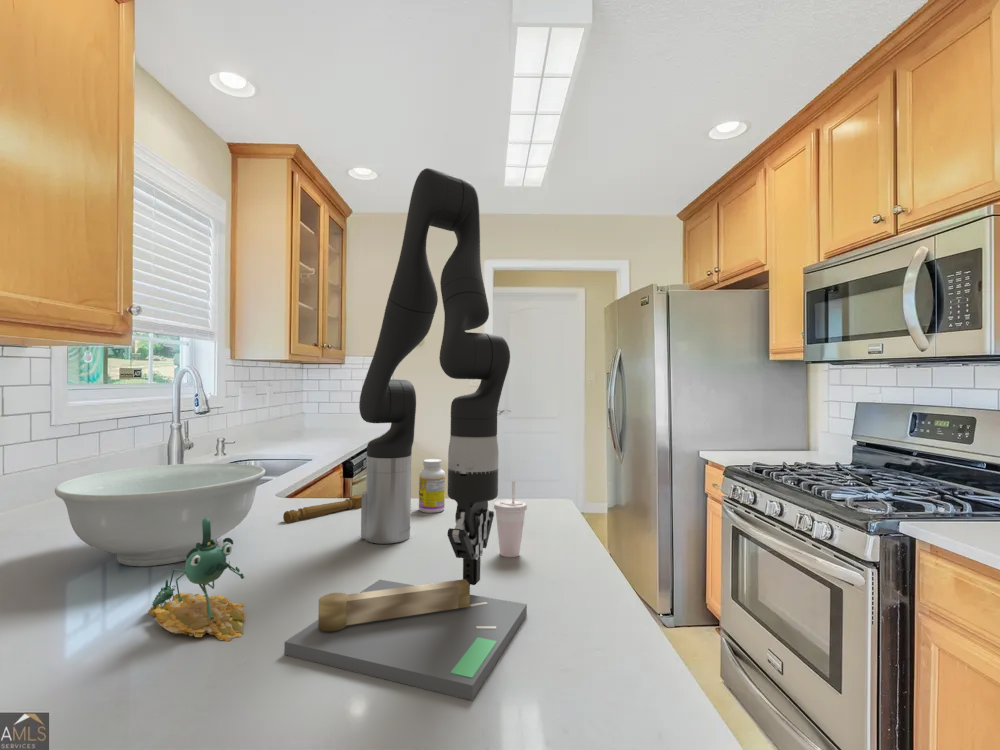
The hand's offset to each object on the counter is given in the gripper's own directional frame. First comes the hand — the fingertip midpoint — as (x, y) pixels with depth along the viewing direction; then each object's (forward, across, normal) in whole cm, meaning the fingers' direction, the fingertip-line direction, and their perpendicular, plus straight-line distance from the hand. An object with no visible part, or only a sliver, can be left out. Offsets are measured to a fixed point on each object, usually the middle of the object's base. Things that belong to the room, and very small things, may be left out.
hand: (471, 582), depth 72 cm
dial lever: (+1, +11, -6) cm, 12 cm away
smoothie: (+3, -22, -1) cm, 22 cm away
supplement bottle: (+3, -46, -30) cm, 55 cm away
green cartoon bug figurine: (+3, +18, -32) cm, 37 cm away
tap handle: (+3, -37, -51) cm, 63 cm away
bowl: (+3, +1, -61) cm, 61 cm away
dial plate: (+3, +11, -3) cm, 12 cm away
